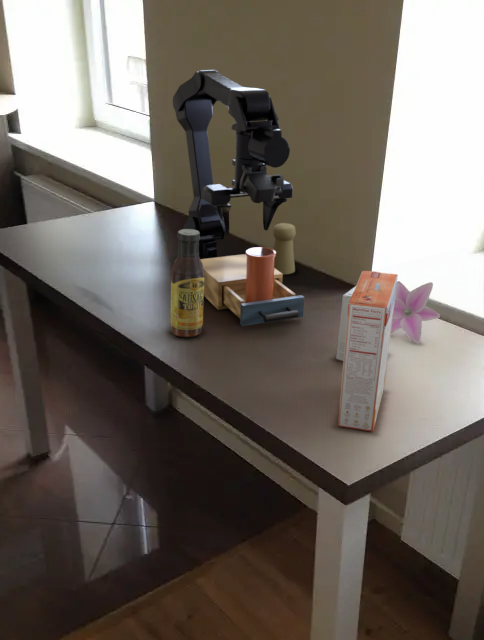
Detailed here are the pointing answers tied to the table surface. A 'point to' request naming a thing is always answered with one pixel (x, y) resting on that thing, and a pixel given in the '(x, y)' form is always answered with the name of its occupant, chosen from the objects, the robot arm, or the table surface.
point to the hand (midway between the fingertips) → (246, 232)
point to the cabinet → (225, 276)
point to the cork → (284, 248)
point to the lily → (412, 310)
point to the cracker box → (366, 349)
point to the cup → (259, 274)
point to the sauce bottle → (187, 286)
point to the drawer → (263, 304)
